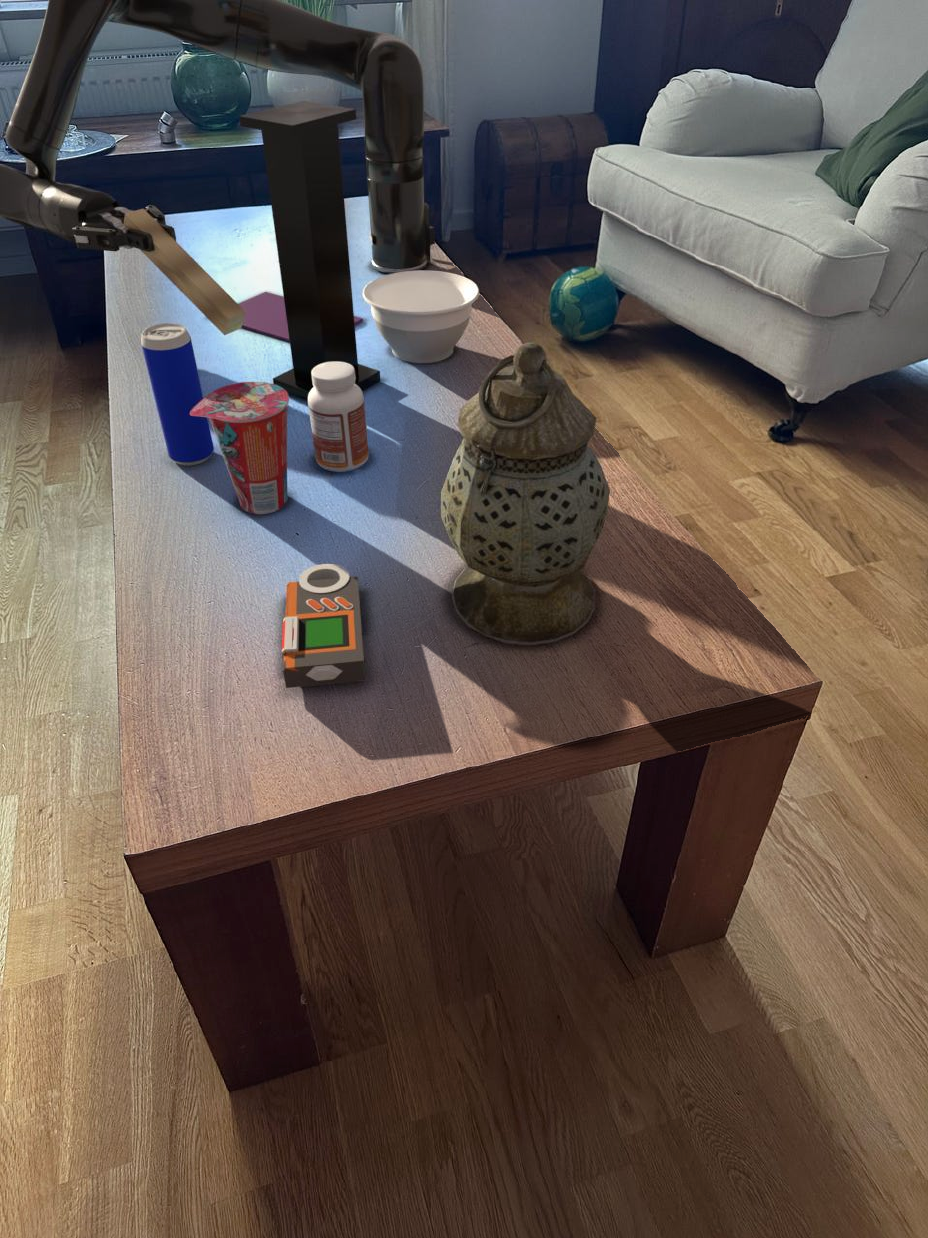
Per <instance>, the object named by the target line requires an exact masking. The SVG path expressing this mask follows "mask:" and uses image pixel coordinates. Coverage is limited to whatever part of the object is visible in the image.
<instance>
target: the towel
mask: <svg viewBox="0 0 928 1238" xmlns="http://www.w3.org/2000/svg"><path fill="white" fill-rule="evenodd" d="M237 304H238V305H239V306H240V307H241V308H242V309H243V310H244V311H245V312H246V313H245V317H244V320H243V324H242V327H241V329H246V330H249V331H252V332H256V333H259V334H263V335H265V336H269V337H272V338H276V339H279V340H282V341H285V342H289V343H290V340H289V333H288V325H287V318H286V311H285V303H284V296H283V295H280V294H275V293H272V292H267V291H264V292H261V293H259V294H258V295H255V296H253V297H251V298H248V299H245V300H243V301H241V302H239V303H237ZM363 321H364V320H363V318H362V317H360V316H355V315H354V323H355V326H356V325H358V324H360V323H361V322H363Z"/></svg>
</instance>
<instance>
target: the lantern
mask: <svg viewBox="0 0 928 1238" xmlns="http://www.w3.org/2000/svg"><path fill="white" fill-rule="evenodd" d="M511 364H513V365H511ZM494 365H495V366H493V367H492V368H491V369H490V371H489V372H488V373H487V374H486V376H484V378H483V380H482V382H481V383H480V386H479V390H478V392H477V393H476V394H474V395H473V396H472V397H471V398H470V399H468V400H467V401H466V402H465V404H463V405H462V406H461V407H460V409H459V414H458V419H457V427H458V429H459V431H460V432H459V433H460V435H461V437H463V438H462V440H461V443H460V445H459V447H458V449H457V450H456V452H455V454H454V457H453V459H452V461H451V464H450V467H449V470H448V472H447V474H446V478H445V480H444V483H443V485H442V488H441V491H440V518H441V520H442V523H443V525H444V528H445V530H446V533H447V535H448V538H449V540H450V542H451V544H452V546H453V548H454V550H455V551H456V553H457V554H458V556H459V557H460V558H461V560H462V562H464V564H465V565H466V567H465V568H464V569H463V570H461V573H460V574H459V575H458V576H457V578H456V579H455V580H454V583H453V589H452V594H451V600H452V603H453V607H454V610H455V614H456V615H457V616H458V617H459V618H460V619H461V621H462V622H463V623H464V624H465V626H466V627H467V628H470V629H471V630H473V631H475V632H477V633H478V634H480V635H482V636H484V637H487V638H490V639H492V640H495V641H498V642H501V643H504V644H508V645H519V646H536V645H543V644H550V643H551V644H552V643H555V642H557V641H560V640H563V639H565V638H568V637H570V636H573V635H574V634H576V633H577V632H578V631H579V630H580V629H582V628H583V627H585V626H586V625H587V624H588V622H589V621H590V619H591V617H592V615H593V613H594V611H595V608H596V589H594V585H593V584H592V582H591V580H590V578H589V577H588V576H587V575H586V574H585V573H584V572H582V570H581V569H583V568H584V567H585V566H586V564H587V562H588V560H589V558H590V556H591V554H592V552H593V550H594V548H595V546H596V544H597V542H598V541H599V539H600V537H601V535H602V533H603V531H604V528H605V524H606V520H607V516H608V509H609V501H610V495H611V494H610V493H611V489H610V487H609V483H608V481H607V477H606V475H605V473H604V469H603V466H602V465H601V463H600V460H599V459H598V457H597V456H596V454H595V452H594V451H593V449H592V448H591V446H590V445H589V442H590V440H592V438H593V436H594V435H595V429H596V424H597V419H598V418H597V416H595V414H594V413H593V412H592V411H591V410H590V409H589V408H588V407H587V406H586V404H584V403H583V402H582V401H581V400H580V399H579V398H578V397H577V396H576V394H574V393H573V391H572V389H571V388H570V386H569V385H568V383H567V381H566V380H565V378H564V376H563V375H562V374H560V373H559V372H558V371H556V370H554V369H552V367H551V366H550V364H548V358H547V353H546V351H545V349H544V348H543V347H542V346H541V345H540V344H537V343H536V342H533V341H532V342H530V341H529V342H525V343H523V344H520V345H519V346H518V347H517V349H516V350H515V351H514V354H512V355H508V356H507V357H504V358H502V359H501V360H500V361H499V362H498V363H496V364H494ZM509 365H510V366H509Z"/></svg>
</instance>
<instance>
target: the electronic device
mask: <svg viewBox="0 0 928 1238" xmlns="http://www.w3.org/2000/svg"><path fill="white" fill-rule="evenodd" d="M359 583H360V582H359V576H350V573H349V571H348V569H346V568H345V567H343V566H341V565H338V564H333V563H322V564H316V565H313V566H310V567H309V568H307V569H305V570H304V571H302V573H301V574H300V575H299V577H298V580H297V581H288V583H287V584H286V592H285V593H286V595H285V616H284V618H283V620H282V635H281V636H282V637H281V638H282V640H281V656H282V657H281V658H282V661H283V665H282V671H283V672H282V673H283V678H284V684H285V688H286V689H290V688H300V687H311V686H322V685H332V684H342V683H352V682H362V681H363V682H365V681H366V679H367V678H366V667H365V652H364V651H365V649H364V638H363V635H364V634H363V623H362V607H361V595H360V586H359V585H360V584H359Z"/></svg>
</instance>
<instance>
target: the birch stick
mask: <svg viewBox="0 0 928 1238" xmlns="http://www.w3.org/2000/svg"><path fill="white" fill-rule="evenodd" d="M124 225H125V226H127V227H129V228H130V229H136V230H139V231H143V232H147V233H150V234H151V235H152V238H153V242H154V243H153V244H154V251H151V252H147V251H144V250H141V249H139V250H140V251H141V253H142V254H143V255H144V256H145V257H147V259H148V260H149V261H150V262H152V263H153V265H154V266H155V267H157V269H158V270H159V271H160V272H161V273H162V274H163V275H164V276H165V277H166V278H167V279H168V280H169V281H170V282H171V283H172V284H173V285H174V287H176V288H177V289H178V290H179V291H180V292H181V294H183V295H184V296H185V297H186V298H187V299H188V300H189V302H190V303H192V304H193V305H194V306H195V307H196V308H197V309H198V310H199V311H200V312H201V313H202V315H204V316H205V317H206V318H207V319H208V321H210V323H211V324H213V326H214V327H216V328H217V329H218V331H220V332H221V334H222V335H223V336H227V335H229V334H232V333H233V332H236V331H239V330H240V329H242V324H243V320H244V317H245V313H246V312H245V311H244V310H243V309H242V308H241V307H240V306H239V305H238V304H239V303H238V302H237V301H235V299H234V298H233V297H232V296H230V294H229V293H228V292H226V290H225V289H224V288H223V287H222V286H221V285H220V284H219V283H218V282H217V281H216V280H215V279H214V278H213V277H212V276H211V275H210V274H209V273H208V272H207V271H206V270H205V269H204V268H203V267H202V266H201V265H200V264H199V262H197V261H196V260H195V259H194V258H193V257H192V256H191V255H190V254H189V253H188V252H187V251H186V250H185V249H184V248H183V247H182V246H181V244H179V242H177V240H176V241H175V240H174V239H173V238H172V237H171V236H170V235H169V234H168V233H167V232H166V231H165V230H164V229H163V228H162V227H161V226H160V225H159V224H158V223H157V222H156V221H155V220H154V219H153V218H152V217H151V216H150V215H149V214H148V213H147V212H146V211H145V208H140V209H137V210H134V211H133V212H129V213H126V214H125V217H124Z"/></svg>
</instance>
